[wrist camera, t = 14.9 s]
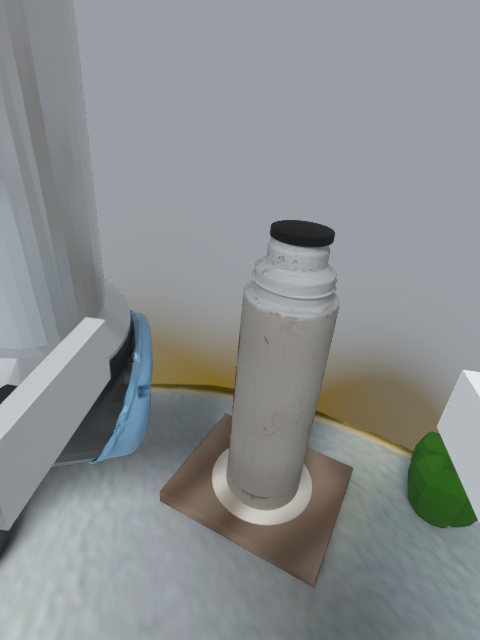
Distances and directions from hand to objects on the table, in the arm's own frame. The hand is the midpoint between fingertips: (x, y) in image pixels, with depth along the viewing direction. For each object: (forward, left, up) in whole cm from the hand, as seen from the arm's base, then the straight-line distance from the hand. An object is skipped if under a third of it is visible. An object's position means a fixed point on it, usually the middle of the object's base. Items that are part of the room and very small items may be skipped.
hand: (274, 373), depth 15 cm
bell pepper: (+13, +25, -29) cm, 40 cm away
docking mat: (-5, +17, -29) cm, 34 cm away
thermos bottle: (-5, +17, -27) cm, 32 cm away
